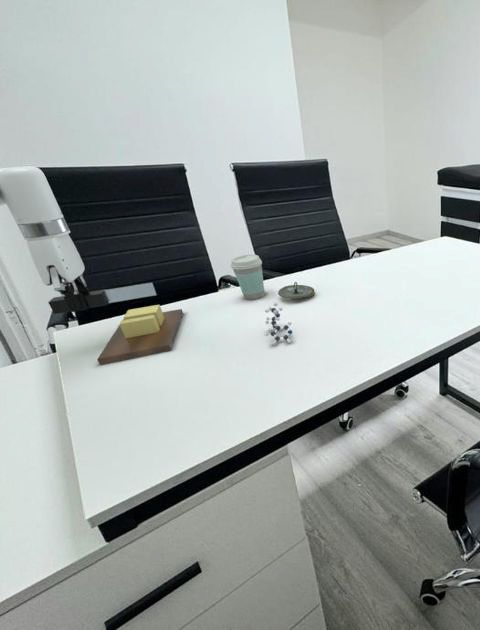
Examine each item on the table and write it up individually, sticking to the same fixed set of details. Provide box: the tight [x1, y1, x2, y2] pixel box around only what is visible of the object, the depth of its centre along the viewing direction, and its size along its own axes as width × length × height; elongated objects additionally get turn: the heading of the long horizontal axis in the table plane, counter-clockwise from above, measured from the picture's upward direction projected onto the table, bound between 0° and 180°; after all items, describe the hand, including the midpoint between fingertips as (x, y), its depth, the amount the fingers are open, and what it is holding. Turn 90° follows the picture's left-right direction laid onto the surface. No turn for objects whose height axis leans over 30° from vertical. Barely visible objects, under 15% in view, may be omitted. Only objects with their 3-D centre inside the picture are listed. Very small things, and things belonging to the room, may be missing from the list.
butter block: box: [123, 304, 164, 326], centre depth 99 cm, size 7×5×4 cm
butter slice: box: [119, 315, 160, 338], centre depth 94 cm, size 7×2×4 cm, turn 112°
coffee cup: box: [230, 254, 265, 301], centre depth 116 cm, size 8×8×12 cm
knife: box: [47, 282, 158, 315], centre depth 91 cm, size 20×3×3 cm, turn 112°
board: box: [96, 308, 184, 366], centre depth 97 cm, size 14×22×2 cm, turn 22°
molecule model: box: [264, 302, 293, 346], centre depth 93 cm, size 6×12×8 cm, turn 31°
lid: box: [277, 281, 315, 300], centre depth 115 cm, size 11×10×5 cm
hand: (82, 306), depth 90 cm, fingers closed on knife, 3 cm apart
